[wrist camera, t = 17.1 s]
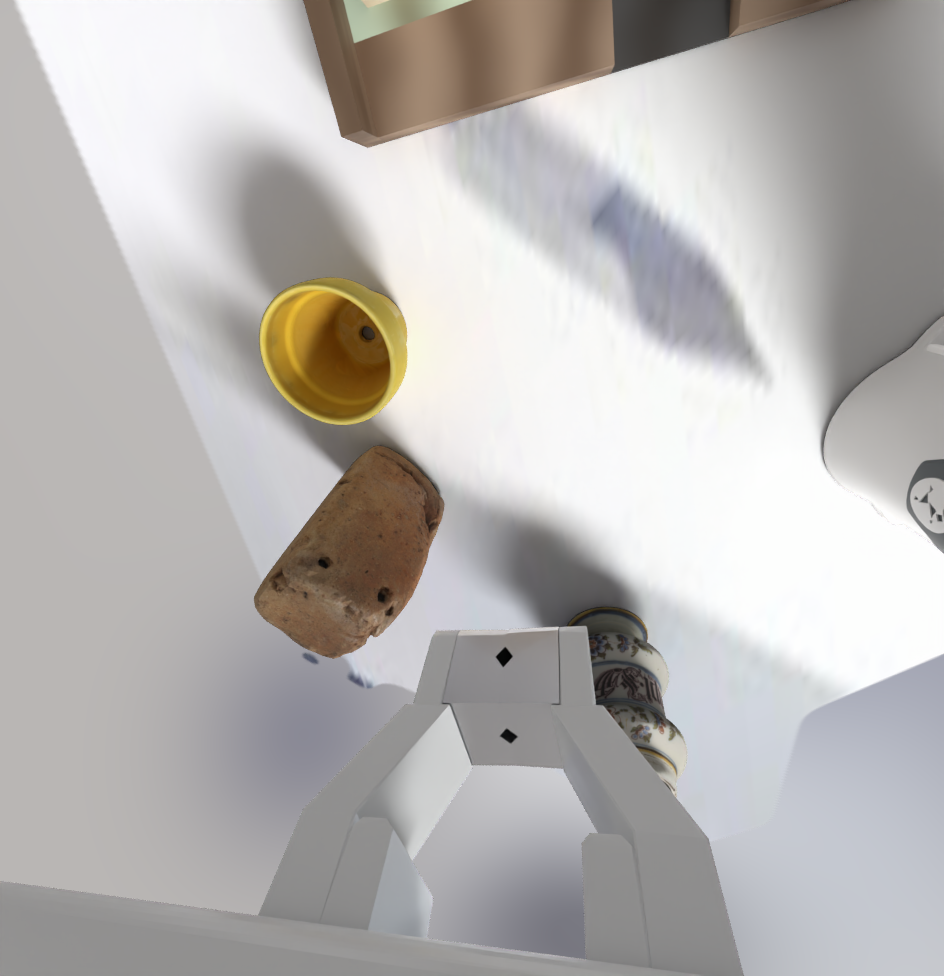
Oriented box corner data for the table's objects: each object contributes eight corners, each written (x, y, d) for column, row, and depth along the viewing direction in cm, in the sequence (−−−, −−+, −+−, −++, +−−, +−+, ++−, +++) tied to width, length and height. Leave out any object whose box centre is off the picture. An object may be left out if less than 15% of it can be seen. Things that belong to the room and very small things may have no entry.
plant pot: (372, 407, 44) (331, 450, 36) (294, 320, 41) (229, 345, 33) (451, 343, 40) (425, 375, 32) (371, 239, 37) (318, 244, 28)
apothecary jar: (574, 674, 60) (583, 830, 44) (542, 611, 55) (539, 762, 40) (668, 658, 56) (713, 824, 40) (642, 589, 51) (682, 748, 36)
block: (342, 475, 49) (232, 611, 32) (379, 430, 45) (278, 555, 28) (419, 534, 52) (355, 688, 35) (460, 495, 48) (411, 646, 31)
